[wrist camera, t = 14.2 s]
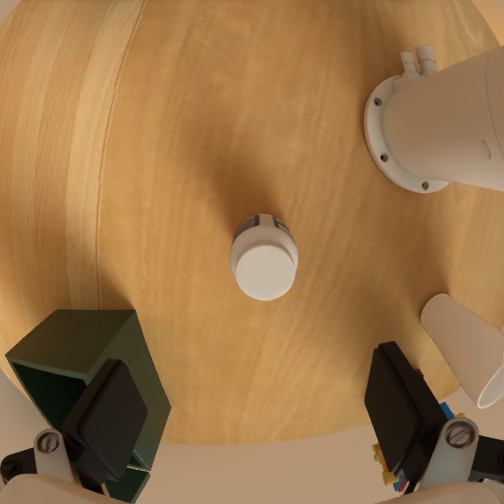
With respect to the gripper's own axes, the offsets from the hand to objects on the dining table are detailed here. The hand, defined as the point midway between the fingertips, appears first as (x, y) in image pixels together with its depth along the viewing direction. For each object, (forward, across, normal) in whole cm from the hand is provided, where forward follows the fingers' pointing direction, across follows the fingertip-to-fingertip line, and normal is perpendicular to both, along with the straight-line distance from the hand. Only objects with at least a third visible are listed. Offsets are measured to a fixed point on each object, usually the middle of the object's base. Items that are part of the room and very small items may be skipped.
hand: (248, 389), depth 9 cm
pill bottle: (+19, -1, -1) cm, 19 cm away
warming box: (+18, +21, +14) cm, 32 cm away
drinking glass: (+19, -22, +10) cm, 30 cm away
